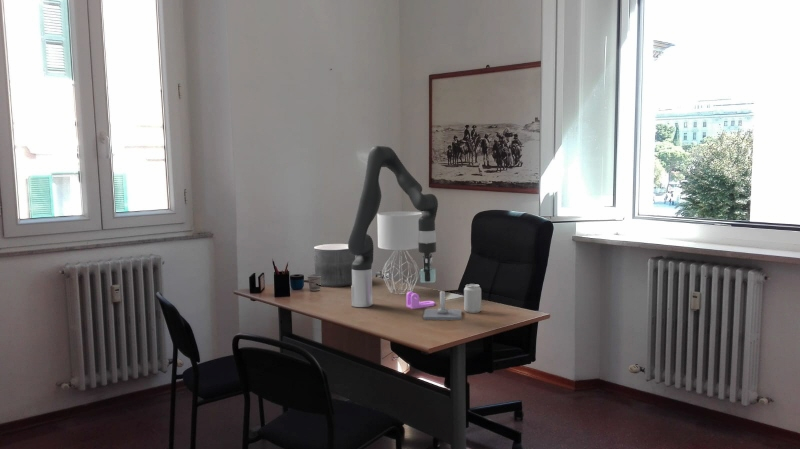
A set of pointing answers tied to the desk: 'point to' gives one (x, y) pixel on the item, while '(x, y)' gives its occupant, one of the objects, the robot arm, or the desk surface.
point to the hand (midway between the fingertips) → (428, 279)
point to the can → (472, 298)
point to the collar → (432, 275)
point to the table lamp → (398, 238)
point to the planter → (334, 264)
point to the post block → (442, 311)
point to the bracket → (416, 301)
